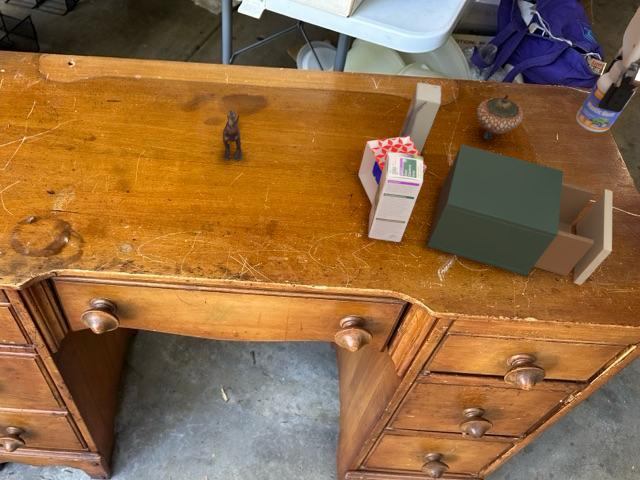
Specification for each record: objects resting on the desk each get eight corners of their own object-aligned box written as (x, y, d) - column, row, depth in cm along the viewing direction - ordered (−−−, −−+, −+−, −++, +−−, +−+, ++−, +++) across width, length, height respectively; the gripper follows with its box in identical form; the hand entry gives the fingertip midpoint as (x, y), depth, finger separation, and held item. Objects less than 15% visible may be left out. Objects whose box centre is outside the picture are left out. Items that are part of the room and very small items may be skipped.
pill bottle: (570, 124, 91) (603, 69, 83) (580, 106, 93) (614, 52, 85) (604, 138, 89) (642, 83, 81) (614, 120, 91) (652, 65, 83)
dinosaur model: (223, 116, 96) (227, 68, 105) (220, 171, 105) (223, 122, 114) (247, 118, 96) (248, 70, 105) (241, 173, 105) (243, 124, 114)
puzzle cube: (413, 199, 103) (426, 166, 96) (372, 205, 102) (382, 172, 95) (397, 169, 107) (409, 135, 101) (358, 174, 106) (367, 140, 99)
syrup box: (400, 243, 97) (426, 181, 85) (366, 238, 97) (386, 175, 85) (401, 218, 100) (425, 155, 88) (367, 213, 101) (387, 150, 89)
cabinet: (533, 214, 102) (563, 170, 93) (526, 276, 94) (557, 234, 85) (440, 189, 104) (461, 144, 96) (426, 246, 97) (447, 203, 88)
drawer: (590, 229, 99) (620, 192, 92) (588, 287, 92) (620, 253, 84) (493, 202, 102) (514, 165, 94) (484, 256, 95) (506, 221, 87)
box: (398, 137, 112) (416, 80, 101) (420, 141, 112) (441, 84, 101) (396, 155, 109) (415, 98, 98) (419, 159, 109) (441, 102, 98)
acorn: (510, 131, 114) (533, 88, 106) (506, 157, 110) (529, 114, 101) (469, 120, 116) (489, 77, 107) (463, 145, 111) (483, 102, 103)
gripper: (726, 15, 67) (634, 138, 82) (716, -49, 76) (635, 72, 91) (658, 1, 68) (580, 124, 83) (656, -60, 77) (586, 61, 92)
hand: (609, 96), depth 87 cm, fingers closed on pill bottle, 5 cm apart
